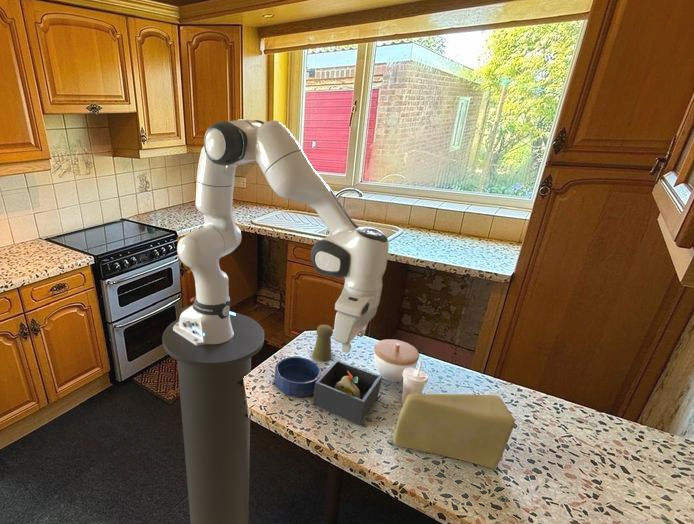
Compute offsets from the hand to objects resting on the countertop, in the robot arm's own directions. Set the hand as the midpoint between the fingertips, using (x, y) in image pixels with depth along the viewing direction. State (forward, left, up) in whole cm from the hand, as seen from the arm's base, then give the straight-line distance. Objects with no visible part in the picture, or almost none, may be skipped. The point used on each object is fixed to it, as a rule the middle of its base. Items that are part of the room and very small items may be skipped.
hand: (353, 342), depth 104 cm
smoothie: (+15, +10, -19) cm, 26 cm away
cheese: (+26, -3, -19) cm, 32 cm away
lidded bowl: (+7, +20, -19) cm, 29 cm away
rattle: (+1, +1, -19) cm, 19 cm away
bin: (0, 0, -19) cm, 19 cm away
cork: (-15, +17, -19) cm, 30 cm away
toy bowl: (-15, -1, -19) cm, 24 cm away
